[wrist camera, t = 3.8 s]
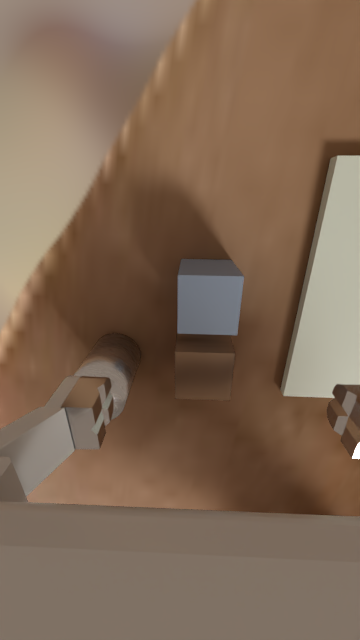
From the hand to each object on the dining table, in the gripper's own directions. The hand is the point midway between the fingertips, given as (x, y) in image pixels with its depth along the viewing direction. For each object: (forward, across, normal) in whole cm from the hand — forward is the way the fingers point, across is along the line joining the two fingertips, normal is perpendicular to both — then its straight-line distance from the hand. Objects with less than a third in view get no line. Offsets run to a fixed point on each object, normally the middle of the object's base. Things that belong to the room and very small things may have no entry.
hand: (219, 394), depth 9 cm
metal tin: (+15, +9, +8) cm, 20 cm away
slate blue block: (+15, 0, 0) cm, 16 cm away
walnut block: (+15, 0, +7) cm, 17 cm away
